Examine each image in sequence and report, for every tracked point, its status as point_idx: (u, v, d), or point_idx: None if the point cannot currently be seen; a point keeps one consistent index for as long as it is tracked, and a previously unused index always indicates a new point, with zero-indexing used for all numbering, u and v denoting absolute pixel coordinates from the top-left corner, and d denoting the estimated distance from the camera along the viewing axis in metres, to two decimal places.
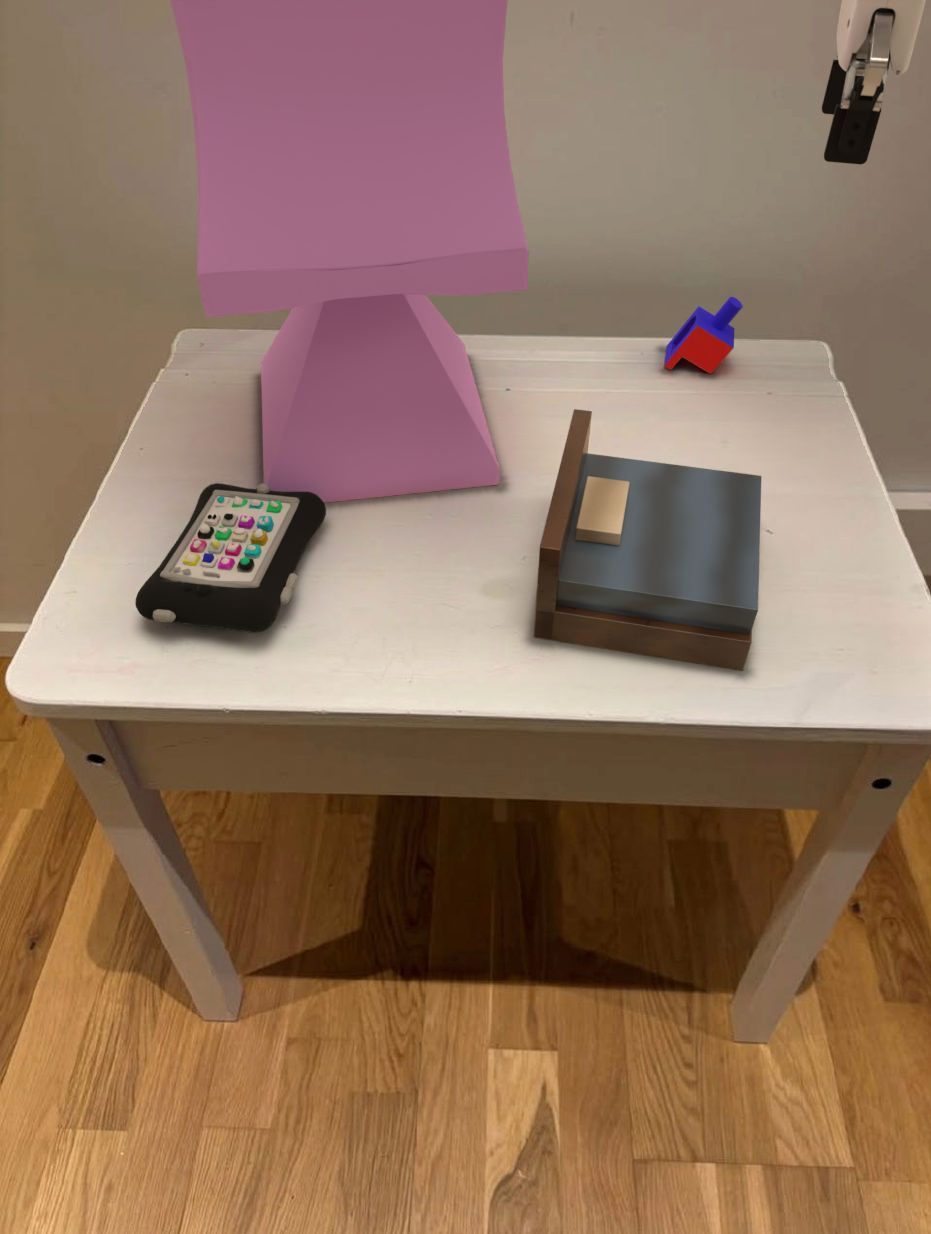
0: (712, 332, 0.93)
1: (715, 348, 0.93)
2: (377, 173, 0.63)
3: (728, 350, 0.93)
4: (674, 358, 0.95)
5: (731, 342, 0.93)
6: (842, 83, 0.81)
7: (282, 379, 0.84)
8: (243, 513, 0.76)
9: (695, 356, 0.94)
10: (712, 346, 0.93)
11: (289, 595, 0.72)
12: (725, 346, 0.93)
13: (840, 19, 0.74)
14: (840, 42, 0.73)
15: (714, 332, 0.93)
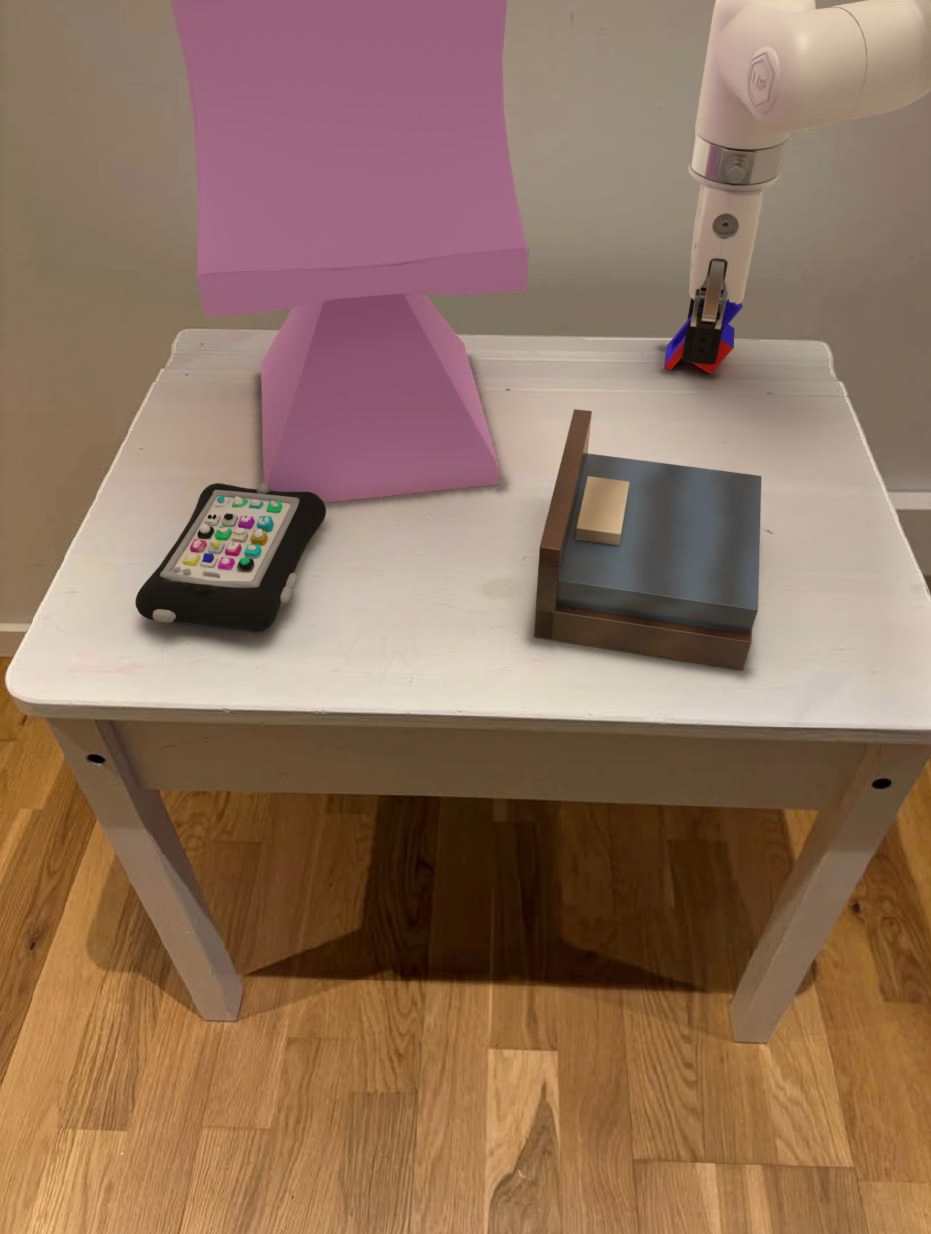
0: None
1: None
2: (376, 173, 0.63)
3: (728, 350, 0.93)
4: (674, 358, 0.95)
5: (731, 342, 0.93)
6: None
7: (282, 379, 0.84)
8: (243, 513, 0.76)
9: None
10: None
11: (289, 595, 0.72)
12: (725, 346, 0.93)
13: None
14: None
15: None
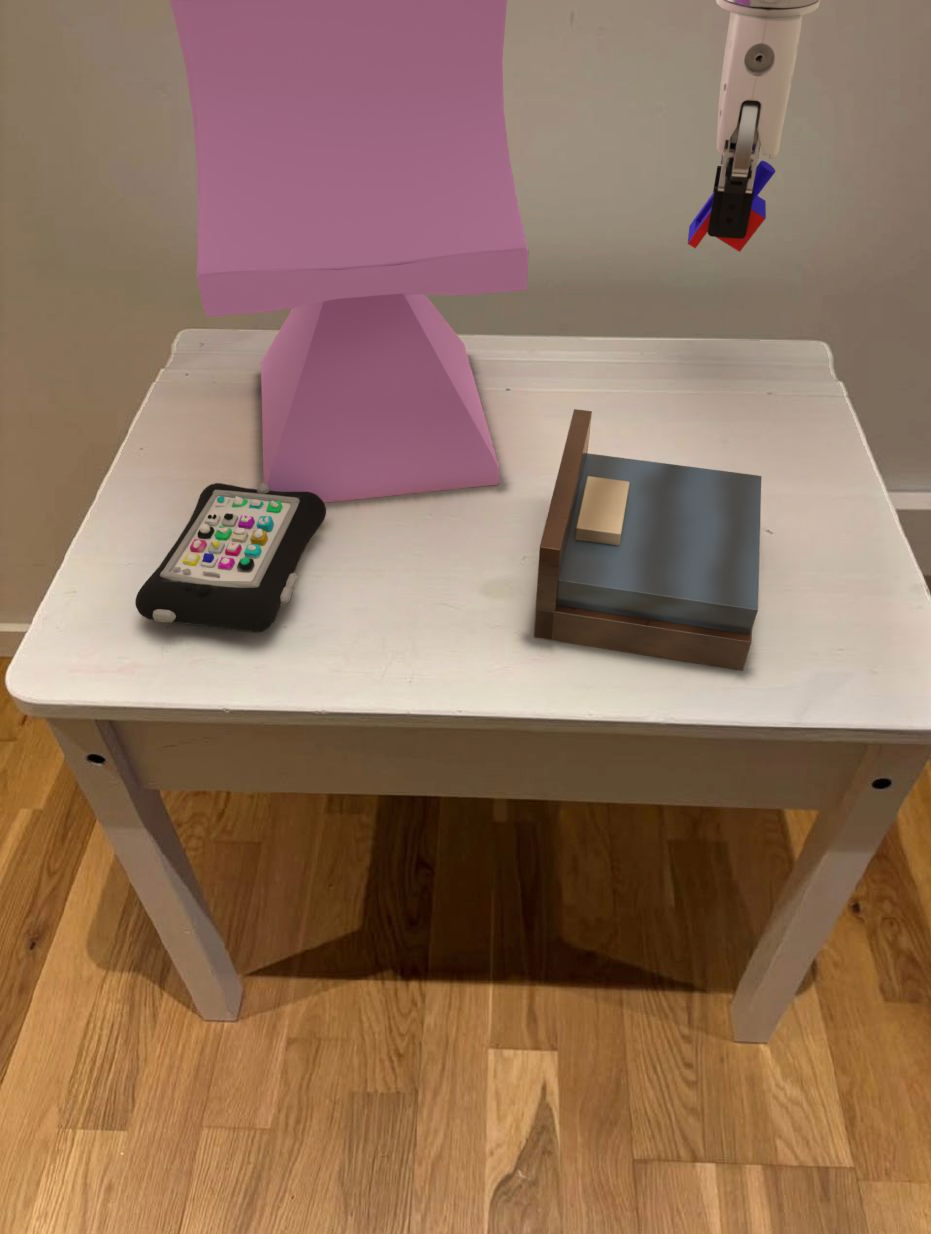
0: None
1: None
2: (376, 173, 0.63)
3: (759, 222, 0.84)
4: (699, 234, 0.85)
5: (763, 213, 0.84)
6: None
7: (282, 379, 0.84)
8: (243, 513, 0.76)
9: None
10: None
11: (289, 595, 0.72)
12: (756, 217, 0.83)
13: None
14: (717, 128, 0.79)
15: None
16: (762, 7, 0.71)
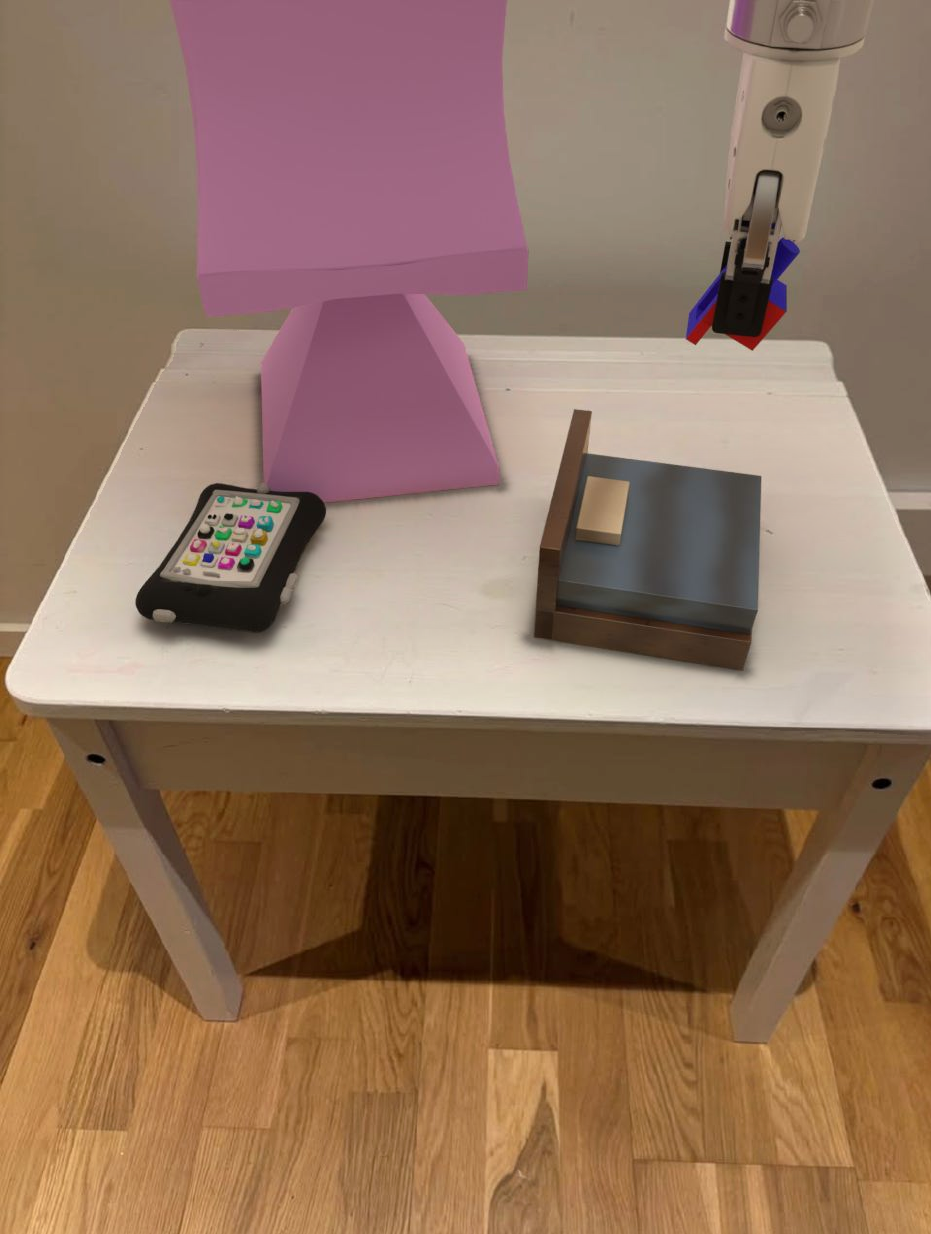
0: None
1: None
2: (376, 173, 0.63)
3: (778, 315, 0.65)
4: (700, 328, 0.66)
5: (783, 304, 0.65)
6: None
7: (282, 379, 0.84)
8: (243, 513, 0.76)
9: None
10: None
11: (289, 595, 0.72)
12: (774, 309, 0.64)
13: None
14: None
15: None
16: (786, 47, 0.52)
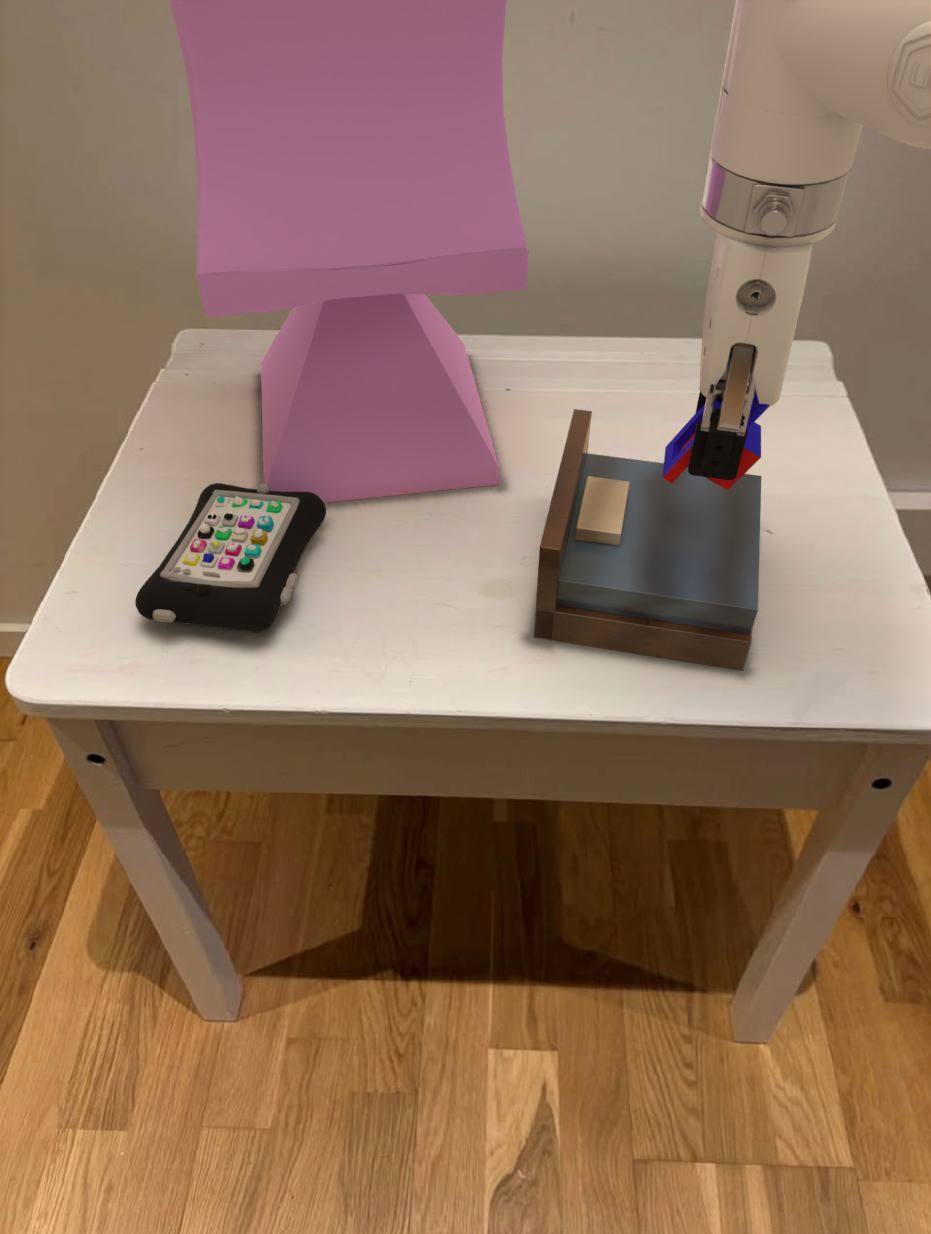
0: None
1: None
2: (376, 173, 0.63)
3: (753, 460, 0.66)
4: (676, 468, 0.67)
5: (757, 449, 0.66)
6: None
7: (282, 379, 0.84)
8: (243, 513, 0.76)
9: None
10: None
11: (289, 595, 0.72)
12: (749, 455, 0.66)
13: None
14: None
15: None
16: None
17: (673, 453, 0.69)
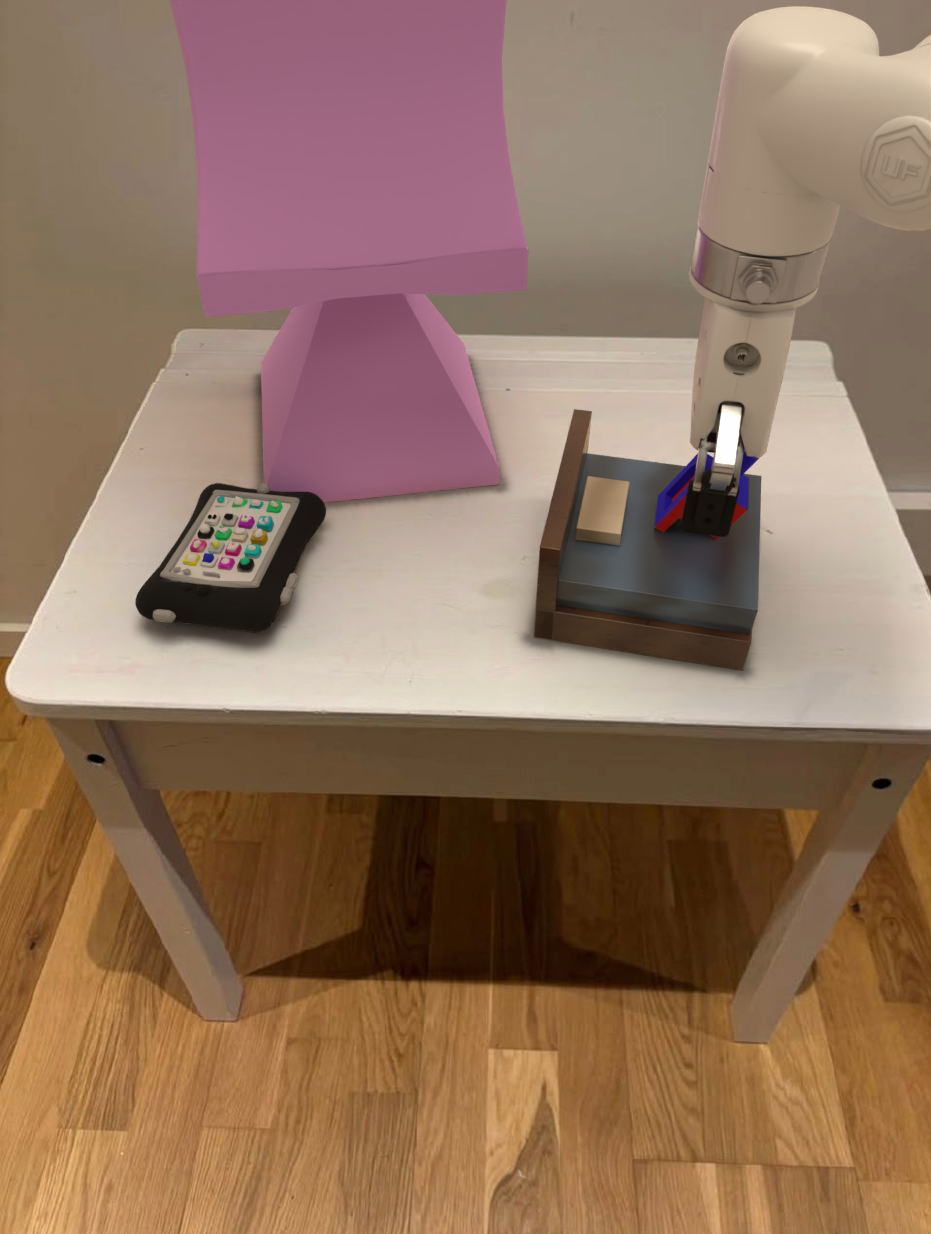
0: None
1: None
2: (376, 173, 0.63)
3: (741, 512, 0.69)
4: (668, 519, 0.71)
5: (745, 501, 0.69)
6: None
7: (282, 379, 0.84)
8: (243, 513, 0.76)
9: None
10: None
11: (289, 595, 0.72)
12: (737, 507, 0.69)
13: None
14: None
15: None
16: None
17: (665, 503, 0.72)
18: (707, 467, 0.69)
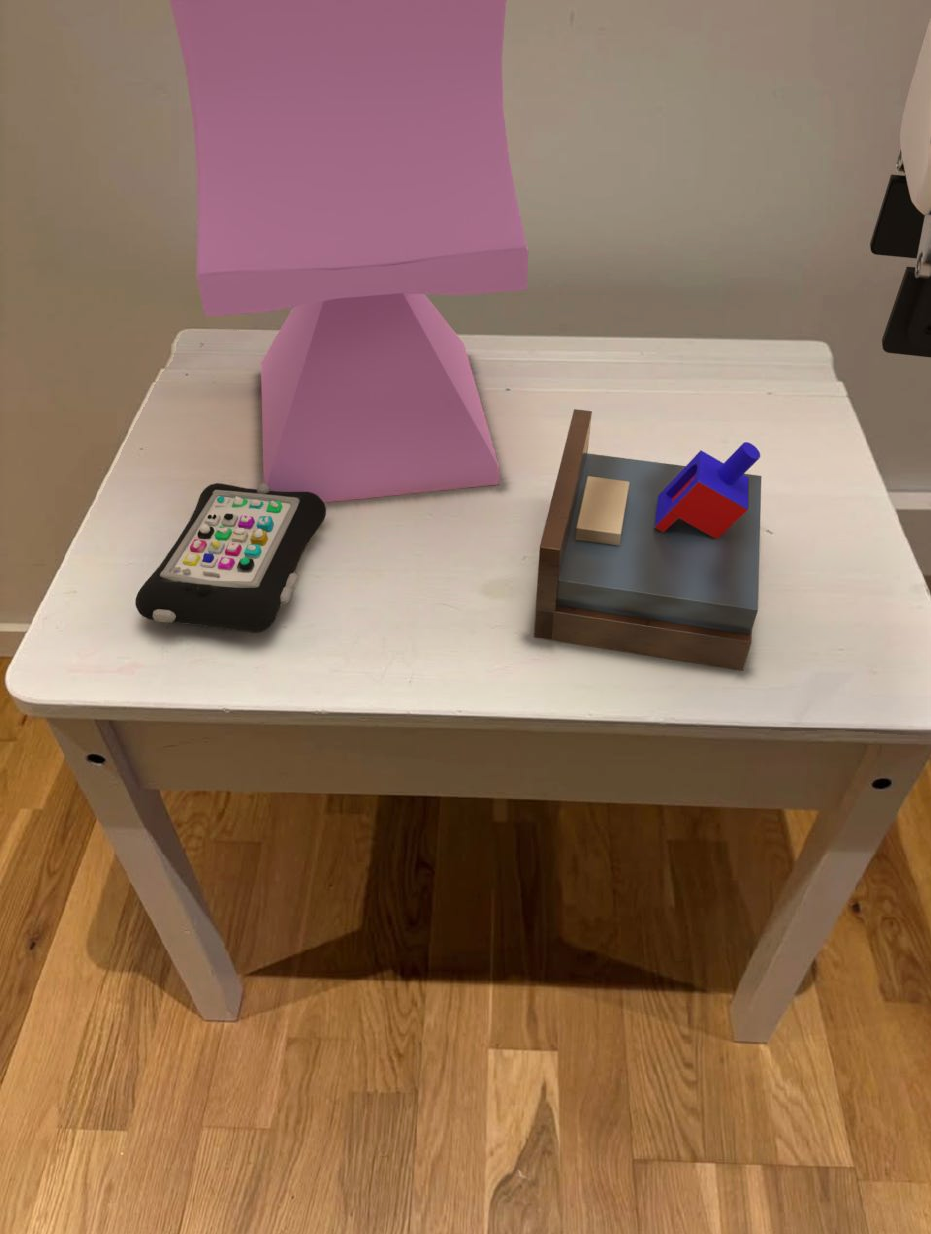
0: (719, 489, 0.68)
1: (723, 510, 0.69)
2: (376, 173, 0.63)
3: (741, 512, 0.69)
4: (668, 519, 0.71)
5: (745, 501, 0.69)
6: (905, 211, 0.51)
7: (282, 379, 0.84)
8: (243, 513, 0.76)
9: (696, 517, 0.70)
10: (719, 507, 0.69)
11: (289, 595, 0.72)
12: (737, 507, 0.69)
13: (912, 122, 0.44)
14: (914, 164, 0.43)
15: (722, 488, 0.69)
16: None
17: (665, 503, 0.72)
18: (707, 467, 0.69)
